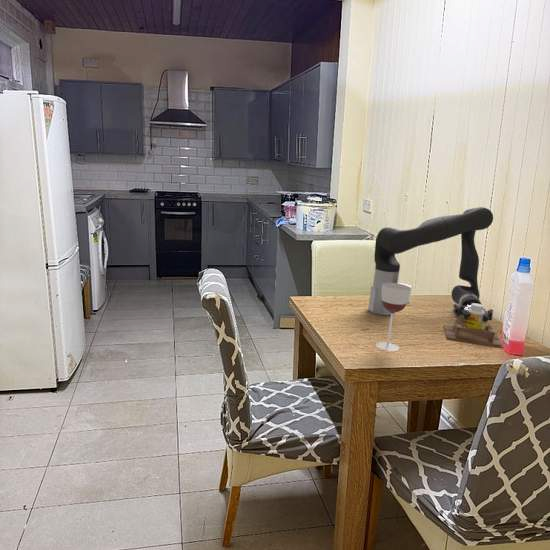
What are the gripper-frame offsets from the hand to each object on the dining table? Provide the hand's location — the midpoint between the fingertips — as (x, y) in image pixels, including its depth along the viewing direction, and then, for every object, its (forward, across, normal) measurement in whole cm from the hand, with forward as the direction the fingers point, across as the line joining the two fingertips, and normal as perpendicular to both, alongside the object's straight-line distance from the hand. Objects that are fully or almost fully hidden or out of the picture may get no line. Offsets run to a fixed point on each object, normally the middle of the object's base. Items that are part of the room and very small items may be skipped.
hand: (476, 318), depth 175 cm
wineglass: (+22, -28, +8) cm, 37 cm away
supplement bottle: (-3, 0, +6) cm, 7 cm away
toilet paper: (-42, -26, +8) cm, 50 cm away
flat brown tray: (-2, 0, +8) cm, 8 cm away
